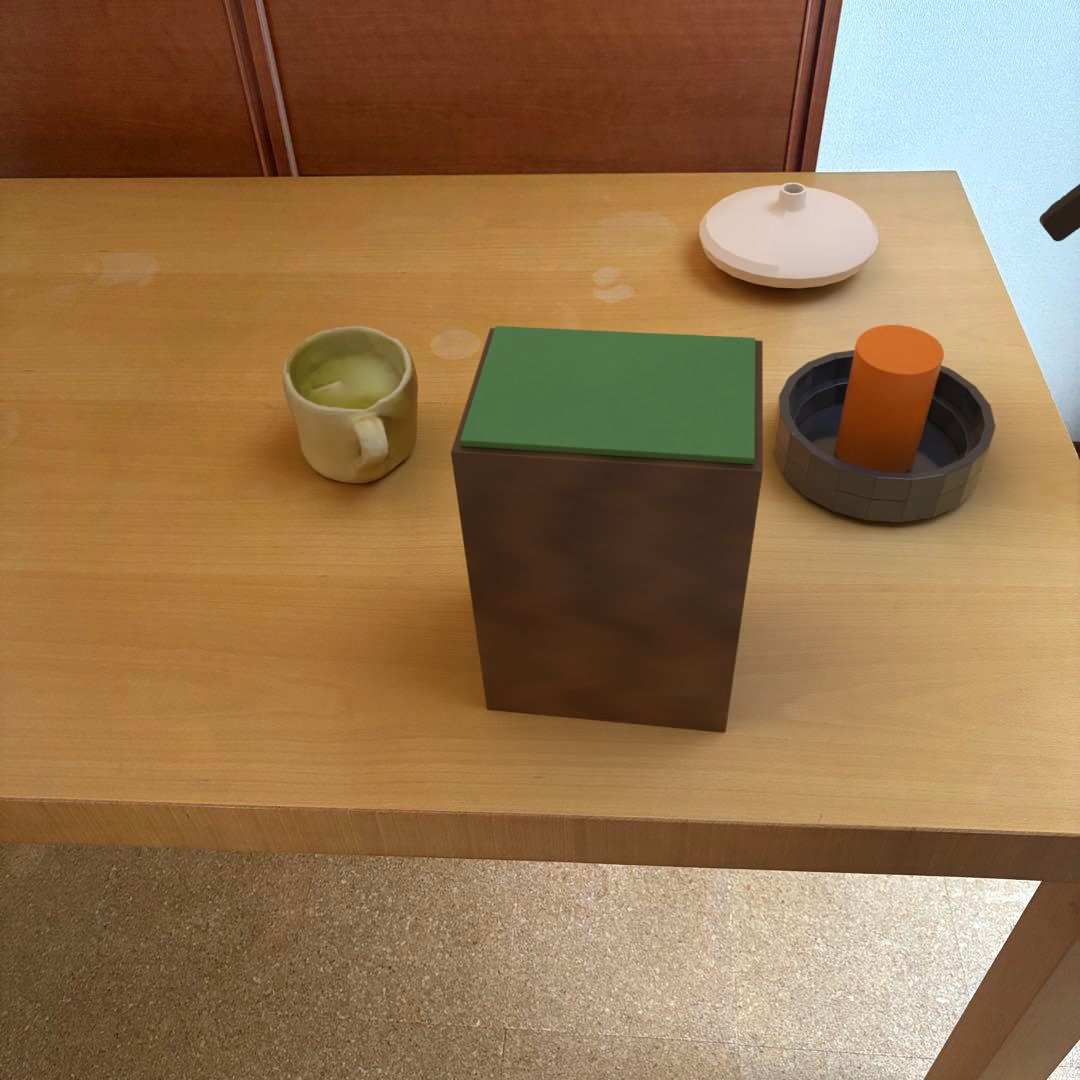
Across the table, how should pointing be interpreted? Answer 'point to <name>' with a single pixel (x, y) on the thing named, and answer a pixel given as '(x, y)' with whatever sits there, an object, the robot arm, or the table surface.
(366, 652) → the table surface
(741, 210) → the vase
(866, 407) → the orange can
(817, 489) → the pot
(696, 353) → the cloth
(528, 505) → the stand
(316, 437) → the mug
